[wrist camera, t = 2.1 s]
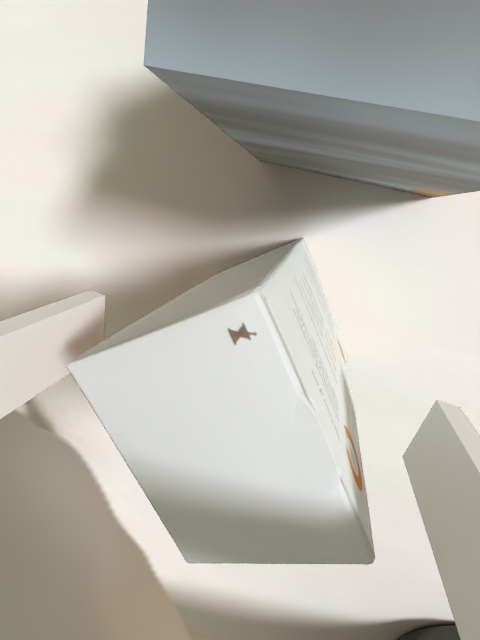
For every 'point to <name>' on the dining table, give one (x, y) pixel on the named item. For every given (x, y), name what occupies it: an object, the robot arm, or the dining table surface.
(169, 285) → the dining table surface
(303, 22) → the book rack
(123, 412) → the small box
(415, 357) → the dining table surface
